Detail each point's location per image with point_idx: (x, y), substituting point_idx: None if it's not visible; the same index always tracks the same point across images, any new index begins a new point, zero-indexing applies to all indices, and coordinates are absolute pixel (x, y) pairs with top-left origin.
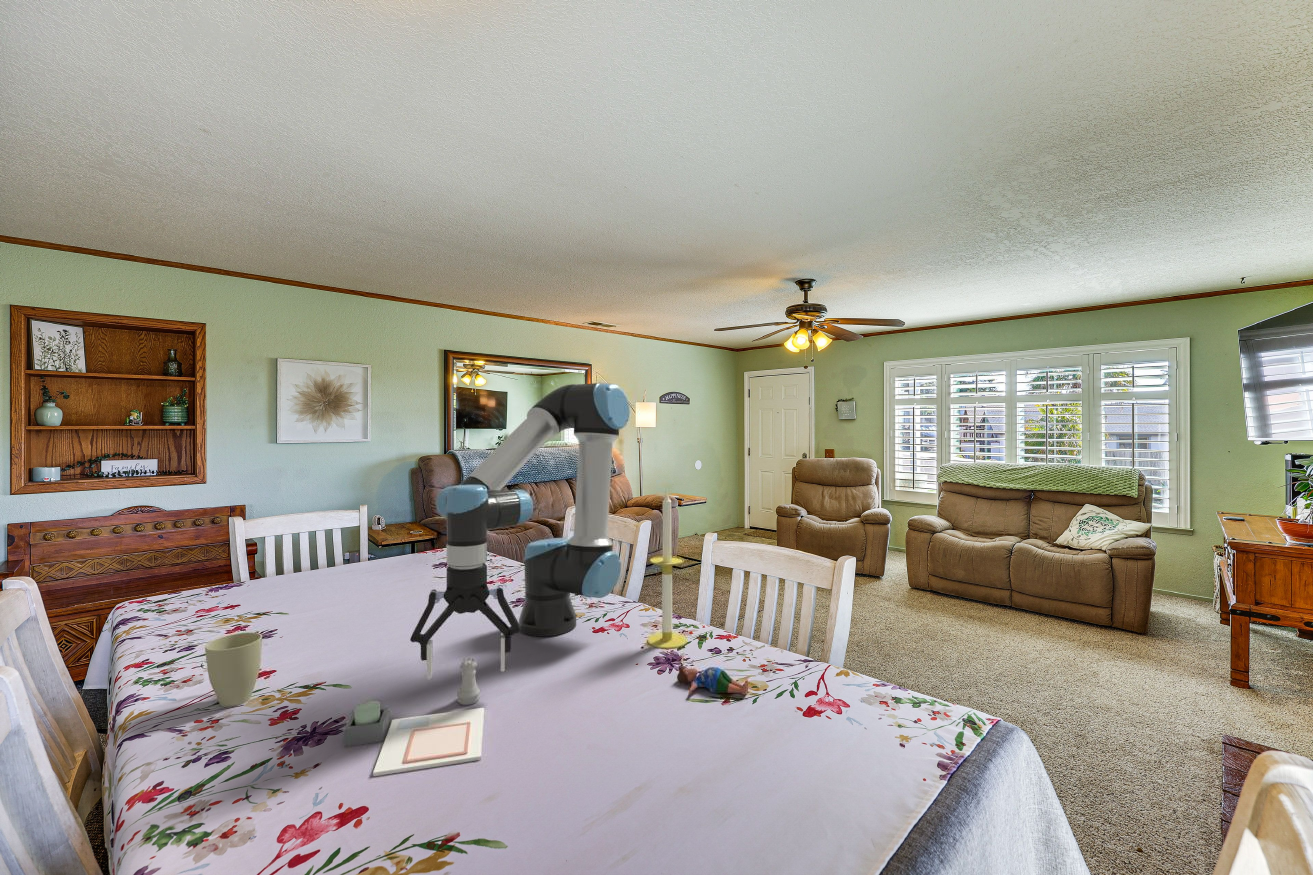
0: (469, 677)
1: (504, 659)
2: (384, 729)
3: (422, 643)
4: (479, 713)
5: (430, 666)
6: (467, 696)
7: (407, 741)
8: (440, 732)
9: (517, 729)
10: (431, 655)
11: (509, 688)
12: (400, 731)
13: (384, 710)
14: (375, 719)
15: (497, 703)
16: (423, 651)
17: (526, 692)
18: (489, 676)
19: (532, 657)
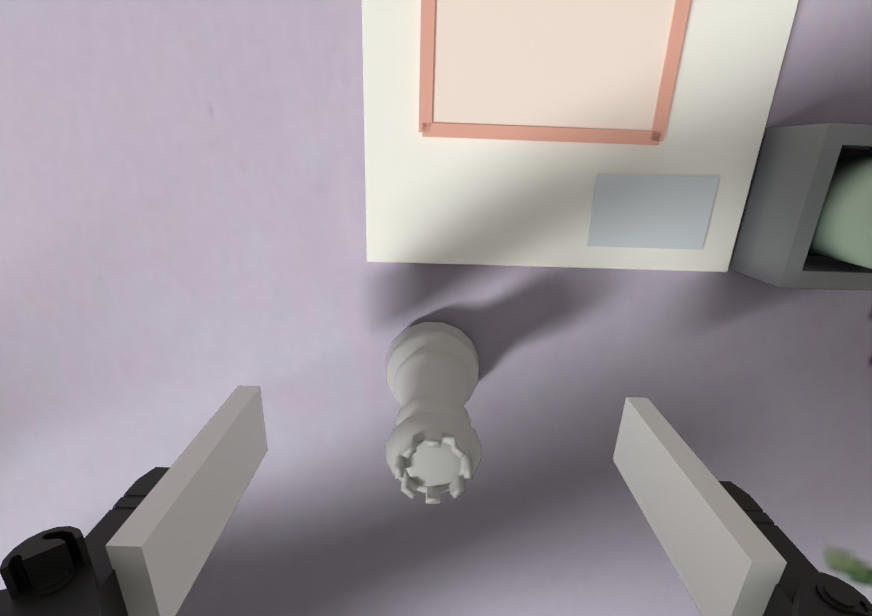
0: (428, 391)
1: (207, 425)
2: (778, 166)
3: (833, 582)
4: (384, 214)
5: (660, 438)
6: (437, 336)
7: (684, 58)
8: (547, 84)
9: (208, 39)
10: (684, 503)
11: (277, 406)
12: (705, 161)
13: (801, 261)
14: (855, 176)
15: (317, 302)
16: (762, 530)
17: (204, 357)
18: (362, 512)
19: (210, 605)
